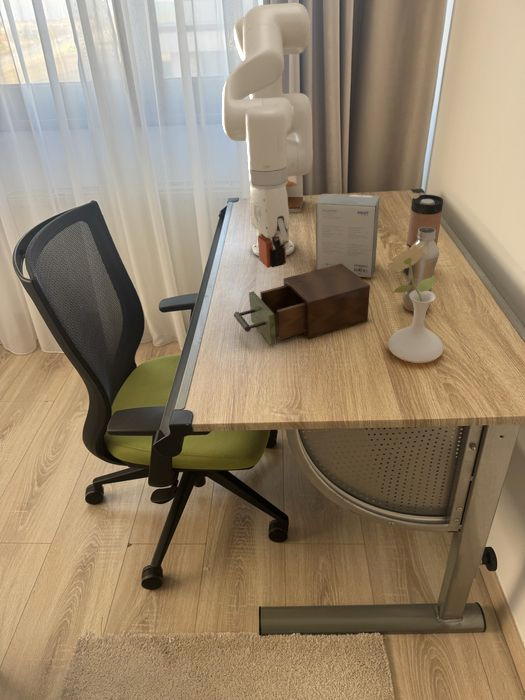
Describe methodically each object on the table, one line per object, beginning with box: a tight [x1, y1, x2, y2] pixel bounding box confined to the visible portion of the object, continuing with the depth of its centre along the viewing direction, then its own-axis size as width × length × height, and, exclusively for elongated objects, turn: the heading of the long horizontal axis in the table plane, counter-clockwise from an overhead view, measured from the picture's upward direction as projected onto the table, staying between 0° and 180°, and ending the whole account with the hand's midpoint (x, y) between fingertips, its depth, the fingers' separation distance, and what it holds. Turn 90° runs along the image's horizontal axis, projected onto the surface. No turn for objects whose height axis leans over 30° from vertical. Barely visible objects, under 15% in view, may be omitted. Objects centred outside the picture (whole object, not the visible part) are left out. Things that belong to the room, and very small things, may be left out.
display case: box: [286, 133, 304, 213], centre depth 174 cm, size 11×11×35 cm
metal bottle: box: [402, 227, 440, 313], centre depth 118 cm, size 6×7×20 cm
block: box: [258, 232, 287, 268], centre depth 109 cm, size 4×4×6 cm
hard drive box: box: [315, 193, 381, 278], centre depth 136 cm, size 16×8×20 cm, turn 71°
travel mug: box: [404, 194, 444, 276], centre depth 132 cm, size 8×8×20 cm
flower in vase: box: [386, 243, 444, 364], centre depth 102 cm, size 13×11×25 cm
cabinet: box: [283, 264, 371, 340], centre depth 120 cm, size 16×13×10 cm
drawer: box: [233, 284, 307, 346], centre depth 116 cm, size 19×11×8 cm, turn 113°
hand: (272, 260), depth 110 cm, fingers closed on block, 4 cm apart
